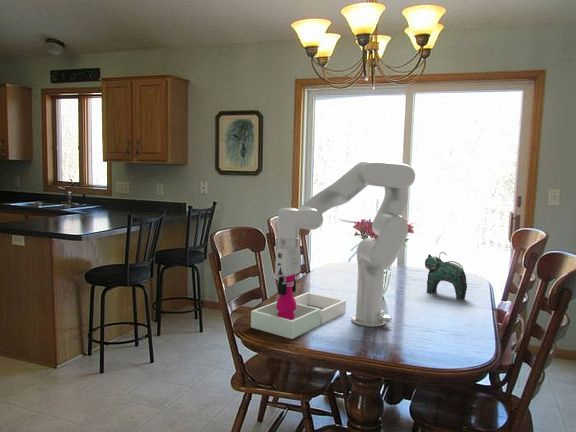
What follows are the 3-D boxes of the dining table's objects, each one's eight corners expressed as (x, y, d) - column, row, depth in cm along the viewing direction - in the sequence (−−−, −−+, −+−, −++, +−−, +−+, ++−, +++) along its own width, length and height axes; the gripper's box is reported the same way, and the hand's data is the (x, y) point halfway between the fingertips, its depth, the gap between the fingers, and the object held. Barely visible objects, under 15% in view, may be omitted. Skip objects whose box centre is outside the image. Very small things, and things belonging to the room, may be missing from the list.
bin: (320, 325, 171) (320, 309, 170) (292, 339, 156) (292, 321, 156) (280, 314, 181) (281, 299, 181) (250, 327, 167) (251, 310, 166)
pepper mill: (293, 322, 164) (295, 266, 162) (273, 320, 166) (275, 264, 164) (297, 315, 171) (299, 262, 169) (278, 313, 173) (279, 260, 171)
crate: (345, 312, 186) (345, 300, 186) (321, 324, 172) (322, 311, 171) (307, 303, 197) (308, 292, 196) (282, 314, 182) (282, 301, 182)
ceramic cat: (422, 291, 221) (424, 249, 219) (429, 289, 226) (432, 248, 223) (461, 301, 206) (464, 256, 204) (468, 299, 211) (471, 255, 209)
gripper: (282, 247, 157) (281, 300, 159) (310, 241, 170) (308, 290, 172) (265, 244, 161) (263, 296, 163) (293, 238, 175) (292, 286, 177)
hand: (286, 292), depth 168 cm, fingers closed on pepper mill, 5 cm apart
